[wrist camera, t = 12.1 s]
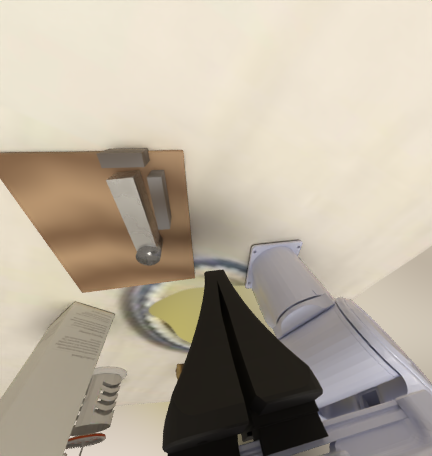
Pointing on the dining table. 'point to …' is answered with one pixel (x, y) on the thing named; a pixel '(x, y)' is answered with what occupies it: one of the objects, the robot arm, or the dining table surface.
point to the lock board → (103, 212)
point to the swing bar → (137, 215)
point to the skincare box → (53, 384)
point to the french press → (101, 417)
